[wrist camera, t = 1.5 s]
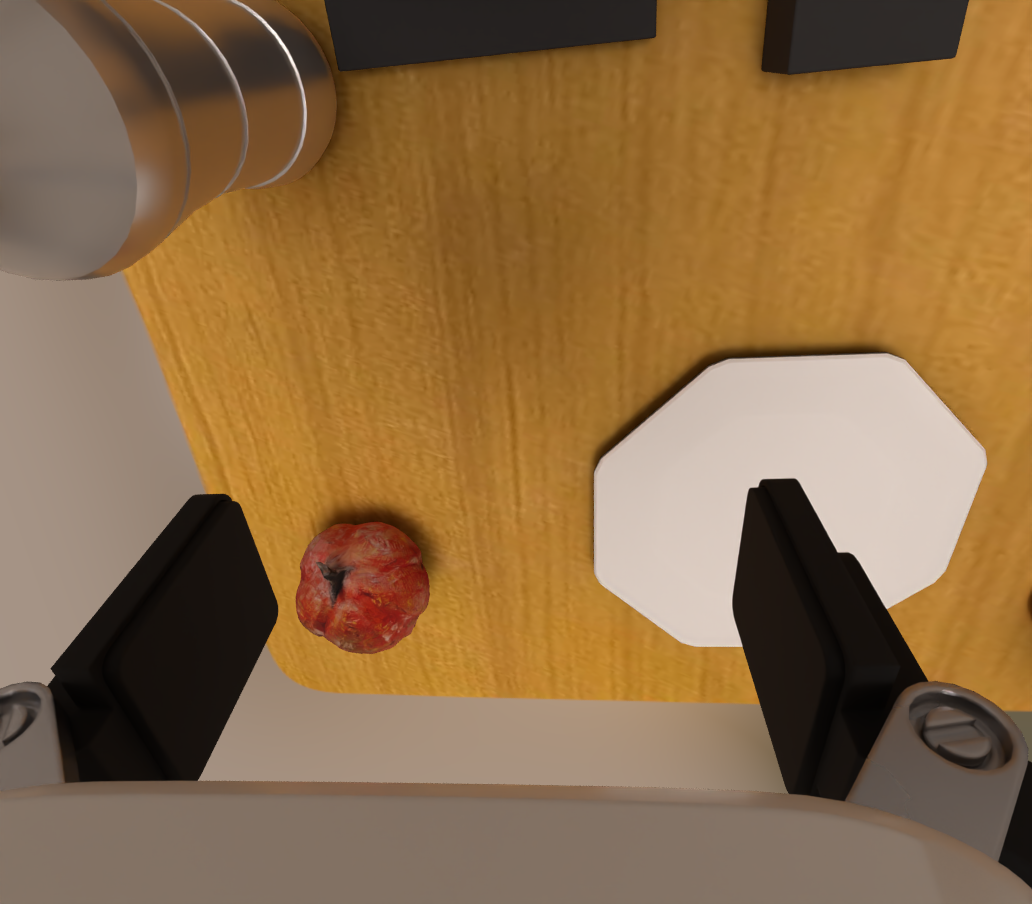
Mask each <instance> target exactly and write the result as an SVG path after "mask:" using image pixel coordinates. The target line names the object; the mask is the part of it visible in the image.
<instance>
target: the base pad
mask: <svg viewBox="0 0 1032 904" xmlns="http://www.w3.org/2000/svg"><path fill="white" fill-rule="evenodd" d="M324 1H325V6H326V11H327V15H328V20H329V25H330V30H331V35H332V40H333V45H334V50H335V55H336V59H337V64H338V69H339V71H340V72H342V71H351V70H361V69H370V68H379V67H388V66H398V65H407V64H416V63H426V62H435V61H444V60H453V59H463V58H472V57H481V56H491V55H500V54H509V53H518V52H528V51H537V50H546V49H556V48H565V47H574V46H583V45H593V44H602V43H611V42H621V41H630V40H639V39H648V38H655V37H656V11H657V0H324Z"/></svg>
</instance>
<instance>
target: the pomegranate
mask: <svg viewBox="0 0 1032 904" xmlns="http://www.w3.org/2000/svg"><path fill="white" fill-rule="evenodd" d="M300 569H301V581H300V585H299V587H298V590H297V594H296V608H297V614H298V618H299V620H300V622H301V623H302V625H303V626H304V627H305V628H306V629H308V630H309V631H310V632H312V633H313V634H315V635H317V636H324V637H325V638H326V639H327V640H328V641H330V642H332V643H333V644H335V645H337V646H338V647H339V648H340V649H343V650H345V651H348V652H353V653H361V654H363V653H366V654H374V653H377V652H381V651H384V650H387V649H390V648H392V647H394V646H395V645H396V644H397V643H398V642H399V641H400V640H401V639H402V638H404V637H406V636H408V635H409V634H411V633H412V630H413V628H414V626H415V624H416V621H417V619H418V617H419V615H420V614H421V613H423V612H424V610H425V609H426V608H427V605H428V602H429V595H430V593H429V579H428V574H427V572H426V570H425V567H424V565H423V562H422V557H421V551H420V549H419V548H418V547H417V545H416V544H415V543H414V542H413V541H412V540H411V539H410V538H409V537H408V536H407V535H405V534H404V533H403V532H402V531H400V530H399V529H397V528H396V527H394V526H391V525H388V524H385V523H382V522H369V523H364V524H360V525H352V524H336V525H333V526H331V527H330V528H328V529H326V530H325V531H323V532H322V533H320V534H319V535H318V536H317V537H315V538H314V539H313V540H312V542H311V543H310V544H309V545H308V547H307V549H306V551H305V554H304V556H303V558H302V561H301V563H300Z"/></svg>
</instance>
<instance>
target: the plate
mask: <svg viewBox="0 0 1032 904" xmlns="http://www.w3.org/2000/svg"><path fill="white" fill-rule="evenodd" d="M986 466H987V459H986V452H985V449H984V448H983V447H982V446H981V444H980V443H979V442H978V441H977V440H976V439H975V438H974V437H973V435H972V434H971V433H970V432H969V431H968V430H967V429H966V428H965V426H964V425H963V424H962V423H961V422H960V421H959V420H958V419H957V418H956V416H955V415H954V414H953V413H952V412H951V411H950V410H949V409H948V407H947V406H946V405H945V404H944V403H943V402H942V401H941V400H940V398H939V397H938V396H937V395H936V394H935V393H934V392H933V391H932V389H931V388H930V387H929V386H928V385H927V384H926V383H925V382H924V380H923V379H922V378H921V377H920V376H919V375H918V374H917V373H916V371H915V370H914V369H913V368H912V367H911V366H910V365H909V364H908V363H907V361H906V360H904V359H903V358H901V357H898V356H895V355H892V354H890V353H887V352H870V353H842V354H814V355H786V356H758V357H730V358H725V359H723V360H720V361H718V362H715V363H713V364H710V365H708V366H707V367H706V368H704V369H703V370H702V371H701V372H700V373H699V374H697V375H696V376H695V377H694V378H693V379H692V380H690V381H689V382H688V383H687V384H686V385H685V386H683V387H682V388H681V389H680V390H679V391H677V392H676V393H675V394H674V395H673V396H672V397H670V398H669V399H668V400H667V401H666V402H665V403H663V404H662V405H661V406H660V407H659V408H658V409H656V410H655V411H654V412H653V413H652V414H651V415H649V416H648V417H647V418H646V419H645V420H644V421H642V422H641V423H640V424H639V425H638V426H637V427H635V428H634V429H633V430H632V431H631V432H629V433H628V434H627V435H626V436H625V437H624V438H622V439H621V440H620V441H619V442H618V443H617V444H615V445H614V446H613V447H612V448H611V449H610V450H608V451H607V452H606V453H605V454H604V455H603V456H601V458H600V460H599V462H598V464H597V466H596V468H595V470H594V574H595V576H596V577H597V579H598V581H599V583H600V584H601V585H602V586H604V587H605V588H607V589H608V590H609V591H611V592H612V593H613V594H615V595H616V596H618V597H619V598H620V599H622V600H623V601H624V602H626V603H627V604H629V605H630V606H631V607H633V608H634V609H635V610H637V611H638V612H640V613H641V614H642V615H644V616H645V617H646V618H648V619H649V620H651V621H652V622H653V623H655V624H656V625H657V626H659V627H660V628H662V629H663V630H664V631H666V632H667V633H668V634H670V635H671V636H673V637H674V638H675V639H677V640H678V641H679V642H681V643H684V644H688V645H691V646H695V647H743V646H742V643H741V639H740V636H739V633H738V630H737V626H736V623H735V620H734V616H733V609H732V596H733V589H734V582H735V575H736V568H737V562H738V555H739V548H740V541H741V534H742V527H743V521H744V514H745V507H746V500H747V494H748V490H749V488H754V487H758V486H759V483H760V481H761V480H762V479H783V478H795V479H797V480H798V481H799V483H800V484H801V486H802V488H803V490H804V492H805V494H806V495H807V497H808V499H809V501H810V503H811V505H812V506H813V508H814V510H815V512H816V514H817V515H818V517H819V519H820V521H821V523H822V525H823V526H824V528H825V530H826V532H827V534H828V536H829V537H830V539H831V541H832V543H833V545H834V546H835V548H836V550H837V552H849V553H851V554H853V555H854V556H855V557H856V558H857V560H858V561H859V563H860V564H861V566H862V568H863V569H864V571H865V573H866V575H867V576H868V578H869V580H870V582H871V583H872V585H873V587H874V588H875V590H876V592H877V594H878V595H879V597H880V599H881V601H882V602H883V604H884V606H885V607H886V609H888V608H890V607H891V606H893V605H895V604H897V603H899V602H900V601H902V600H904V599H906V598H908V597H909V596H911V595H913V594H915V593H917V592H918V591H920V590H922V589H924V588H925V587H927V586H929V585H931V584H933V583H934V582H935V581H936V580H937V579H938V578H939V577H940V576H941V575H942V574H943V573H944V572H945V571H946V568H947V566H948V563H949V561H950V558H951V556H952V553H953V551H954V548H955V545H956V543H957V540H958V538H959V535H960V533H961V530H962V528H963V525H964V522H965V520H966V517H967V515H968V512H969V510H970V507H971V504H972V502H973V499H974V497H975V494H976V492H977V489H978V487H979V484H980V481H981V479H982V476H983V474H984V471H985V469H986Z"/></svg>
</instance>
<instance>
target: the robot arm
mask: <svg viewBox="0 0 1032 904" xmlns="http://www.w3.org/2000/svg"><path fill="white" fill-rule="evenodd" d="M732 609H733V616H734V620H735V623H736V626H737V630H738V633H739V636H740V639H741V643H742V646H743V649H744V653H745V656H746V659H747V662H748V666H749V669H750V672H751V675H752V679H753V682H754V685H755V689H756V692H757V695H758V698H759V702H760V705H761V708H762V711H763V715H764V718H765V721H766V725H767V728H768V731H769V735H770V738H771V741H772V744H773V747H774V751H775V754H776V757H777V761H778V764H779V767H780V770H781V774H782V777H783V781H784V784H785V787H786V789H787V791H788V793H789V794H782V793H771V792H759V791H739V790H710V789H684V788H656V787H609V786H607V787H606V786H558V785H505V784H503V785H502V784H438V783H435V784H433V783H369V782H367V783H364V782H275V781H274V782H273V781H271V782H270V781H264V782H263V781H198V779H199V777H200V776H201V774H202V772H203V770H204V768H205V766H206V763H207V761H208V759H209V758H210V756H211V753H212V751H213V749H214V747H215V745H216V743H217V741H218V739H219V737H220V735H221V733H222V731H223V729H224V727H225V725H226V723H227V721H228V719H229V717H230V714H231V713H232V711H233V709H234V707H235V705H236V703H237V700H238V699H239V696H240V694H241V692H242V690H243V688H244V686H245V684H246V682H247V680H248V678H249V676H250V674H251V672H252V670H253V668H254V666H255V664H256V662H257V660H258V658H259V656H260V654H261V652H262V649H263V647H264V646H265V644H266V642H267V639H268V637H269V635H270V633H271V631H272V629H273V627H274V625H275V623H276V620H277V617H278V604H277V600H276V598H275V595H274V593H273V590H272V587H271V585H270V582H269V579H268V577H267V574H266V571H265V569H264V566H263V564H262V561H261V558H260V556H259V553H258V550H257V548H256V545H255V542H254V540H253V537H252V535H251V532H250V529H249V527H248V524H247V521H246V519H245V516H244V513H243V511H242V508H241V506H240V504H239V503H238V502H235V501H232V499H231V498H230V497H229V496H228V495H226V494H202V495H201V494H200V495H194V496H192V497H191V498H190V499H189V500H188V501H187V502H186V503H185V505H184V506H183V507H182V508H181V509H180V511H179V512H178V513H177V514H176V516H175V517H174V518H173V519H172V520H171V522H170V523H169V524H168V525H167V527H166V528H165V529H164V530H163V532H162V533H161V534H160V535H159V536H158V538H157V539H156V540H155V541H154V543H153V544H152V545H151V546H150V547H149V549H148V550H147V551H146V552H145V554H144V555H143V556H142V557H141V559H140V560H139V561H138V562H137V563H136V565H135V566H134V567H133V568H132V569H131V571H130V572H129V573H128V574H127V576H126V577H125V578H124V579H123V581H122V582H121V583H120V584H119V586H118V587H117V588H116V589H115V590H114V591H113V593H112V594H111V595H110V596H109V598H108V599H107V600H106V601H105V603H104V604H103V605H102V606H101V607H100V609H99V610H98V611H97V612H96V614H95V615H94V616H93V617H92V619H91V620H90V621H89V622H88V623H87V625H86V626H85V627H84V628H83V630H82V631H81V632H80V633H79V634H78V636H77V637H76V638H75V639H74V641H73V642H72V643H71V644H70V646H69V647H68V648H67V649H66V650H65V652H64V653H63V654H62V655H61V656H60V658H59V659H58V660H57V661H56V663H55V664H54V665H53V666H52V667H51V670H52V671H53V673H54V674H55V677H54V678H53V679H52V681H51V682H50V683H49V685H48V686H45V685H43V684H42V683H38V682H23V683H17V684H12V685H9V686H6V687H4V688H1V689H0V904H1032V762H1030V761H1028V747H1027V744H1026V742H1025V739H1024V737H1023V734H1022V732H1021V731H1020V730H1019V728H1018V727H1017V726H1016V724H1015V723H1014V722H1013V720H1012V719H1011V718H1010V717H1009V716H1008V715H1007V714H1006V713H1005V712H1004V711H1002V710H1001V709H1000V708H999V707H998V706H997V705H995V704H994V703H993V702H991V701H990V700H988V699H986V698H984V697H983V696H981V695H979V694H978V693H976V692H974V691H971V690H969V689H966V688H963V687H960V686H958V685H955V684H950V683H944V682H938V681H932V682H928V680H927V678H926V676H925V675H924V673H923V671H922V669H921V668H920V666H919V664H918V663H917V661H916V659H915V657H914V656H913V654H912V652H911V651H910V649H909V647H908V645H907V644H906V642H905V640H904V638H903V637H902V635H901V633H900V632H899V630H898V628H897V626H896V625H895V623H894V621H893V619H892V618H891V616H890V614H889V613H888V611H887V609H886V607H885V606H884V604H883V602H882V601H881V599H880V597H879V595H878V594H877V592H876V590H875V588H874V587H873V585H872V583H871V582H870V580H869V578H868V576H867V575H866V573H865V571H864V569H863V568H862V566H861V564H860V563H859V561H858V560H857V558H856V557H855V556H854V555H853V554H851V553H849V552H837V550H836V548H835V546H834V545H833V543H832V541H831V539H830V537H829V536H828V534H827V532H826V530H825V528H824V526H823V525H822V523H821V521H820V519H819V517H818V515H817V514H816V512H815V510H814V508H813V506H812V505H811V503H810V501H809V499H808V497H807V495H806V494H805V492H804V490H803V488H802V486H801V484H800V483H799V481H798V480H797V479H795V478H783V479H762V480H761V481H760V483H759V486H758V487H754V488H749V490H748V494H747V500H746V507H745V514H744V521H743V527H742V534H741V541H740V548H739V555H738V562H737V568H736V575H735V582H734V589H733V596H732Z"/></svg>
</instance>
